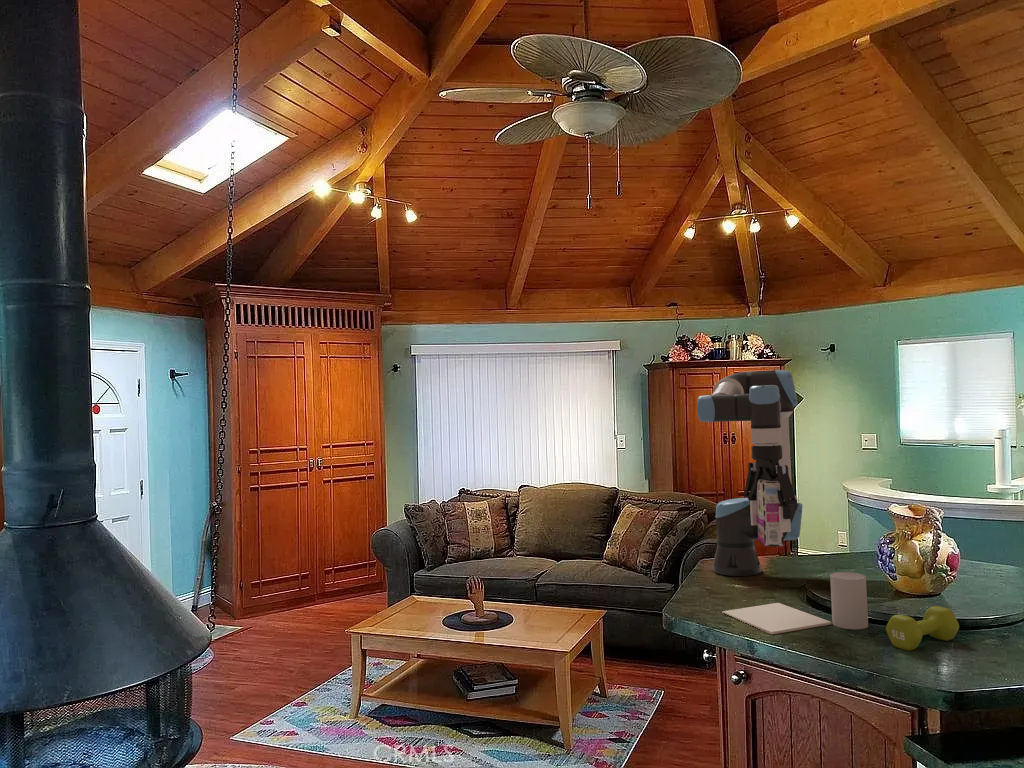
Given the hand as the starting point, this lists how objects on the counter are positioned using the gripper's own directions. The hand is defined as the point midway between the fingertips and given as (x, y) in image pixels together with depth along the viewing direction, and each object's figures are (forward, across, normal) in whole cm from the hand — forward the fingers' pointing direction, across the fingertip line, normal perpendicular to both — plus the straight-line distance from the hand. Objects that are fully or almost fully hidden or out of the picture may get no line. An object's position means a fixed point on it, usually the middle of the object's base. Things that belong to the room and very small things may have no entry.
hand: (770, 528), depth 200 cm
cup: (+23, -12, -13) cm, 29 cm away
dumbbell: (+23, -30, -18) cm, 42 cm away
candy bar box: (+4, 0, 0) cm, 4 cm away
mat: (+23, -1, +1) cm, 23 cm away
